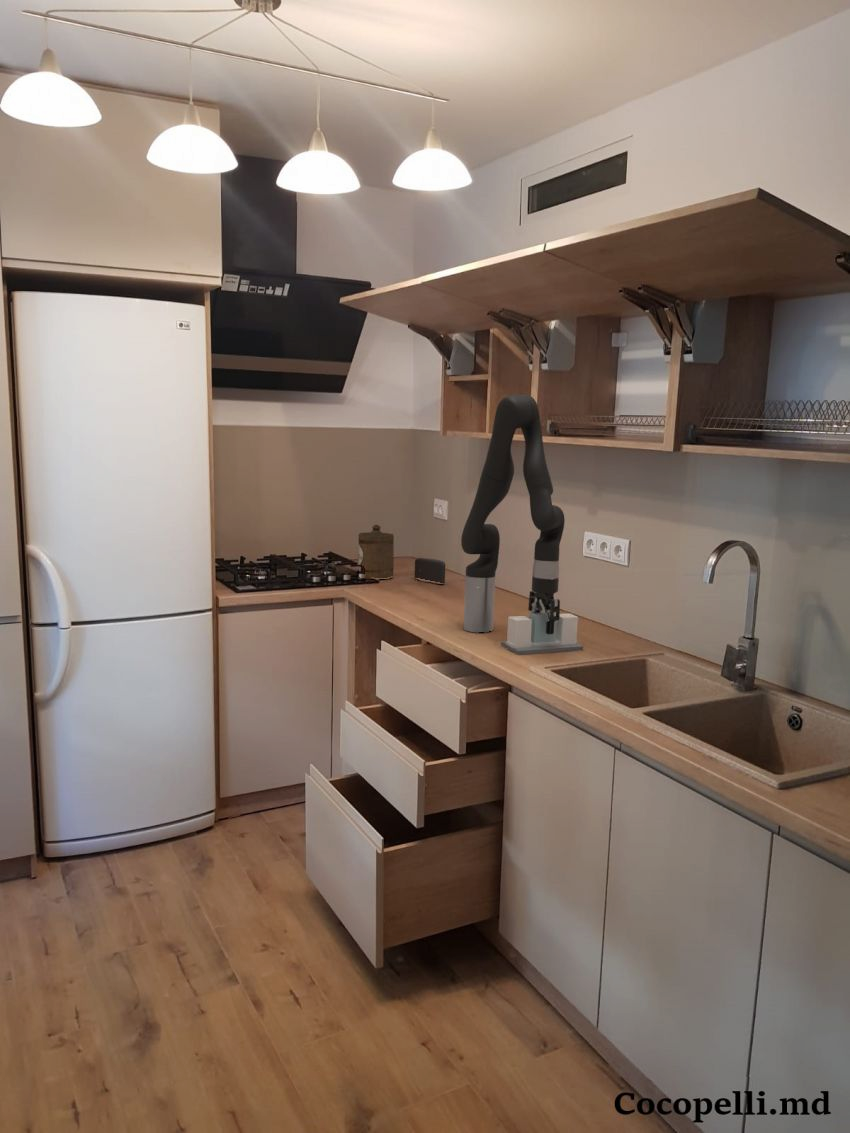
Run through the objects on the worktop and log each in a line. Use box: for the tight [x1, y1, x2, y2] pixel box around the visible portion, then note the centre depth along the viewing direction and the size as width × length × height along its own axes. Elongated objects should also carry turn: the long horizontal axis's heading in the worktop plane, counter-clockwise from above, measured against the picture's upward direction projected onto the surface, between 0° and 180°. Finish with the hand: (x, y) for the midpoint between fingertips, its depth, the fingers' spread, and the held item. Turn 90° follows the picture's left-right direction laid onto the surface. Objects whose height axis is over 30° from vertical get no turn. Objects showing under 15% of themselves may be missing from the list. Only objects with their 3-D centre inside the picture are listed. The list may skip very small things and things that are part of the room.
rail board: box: [500, 612, 584, 656], centre depth 245 cm, size 11×21×9 cm, turn 111°
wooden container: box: [357, 524, 395, 578], centre depth 351 cm, size 15×15×22 cm
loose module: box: [528, 612, 557, 643], centre depth 244 cm, size 4×7×8 cm, turn 111°
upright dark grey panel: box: [414, 557, 446, 583], centre depth 344 cm, size 16×5×9 cm, turn 47°
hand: (542, 630), depth 245 cm, fingers open, 8 cm apart
